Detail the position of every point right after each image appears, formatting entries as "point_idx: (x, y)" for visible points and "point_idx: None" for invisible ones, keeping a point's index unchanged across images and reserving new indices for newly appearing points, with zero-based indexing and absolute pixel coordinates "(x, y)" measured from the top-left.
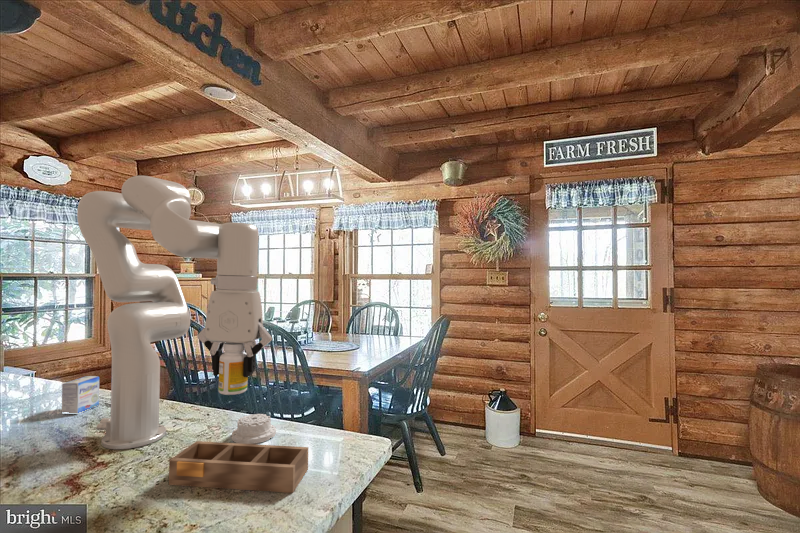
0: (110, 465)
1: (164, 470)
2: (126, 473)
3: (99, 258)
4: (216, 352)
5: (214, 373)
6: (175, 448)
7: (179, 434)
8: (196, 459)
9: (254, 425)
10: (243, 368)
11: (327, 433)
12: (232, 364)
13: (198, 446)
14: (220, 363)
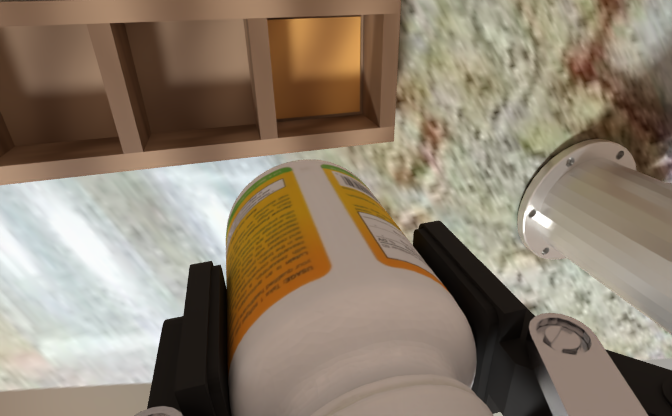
0: (562, 69)
1: (428, 70)
2: (508, 37)
3: None
4: (529, 351)
5: (434, 226)
6: (462, 181)
7: (489, 244)
8: (318, 13)
9: None
10: (217, 300)
11: (114, 362)
12: (298, 273)
13: (376, 124)
14: (421, 265)
